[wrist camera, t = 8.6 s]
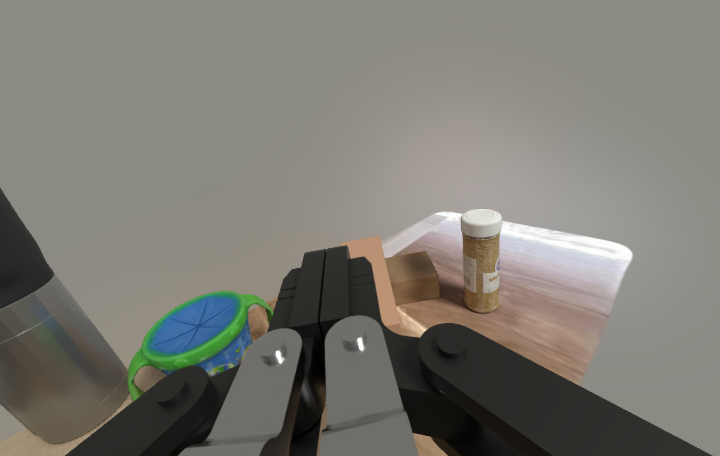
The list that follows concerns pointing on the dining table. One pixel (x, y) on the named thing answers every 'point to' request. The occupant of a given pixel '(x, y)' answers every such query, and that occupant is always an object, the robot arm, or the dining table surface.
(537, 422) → the robot arm
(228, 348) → the snack cup
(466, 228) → the sprinkles bottle
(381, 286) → the block
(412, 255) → the brown wooden bar
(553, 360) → the dining table surface
